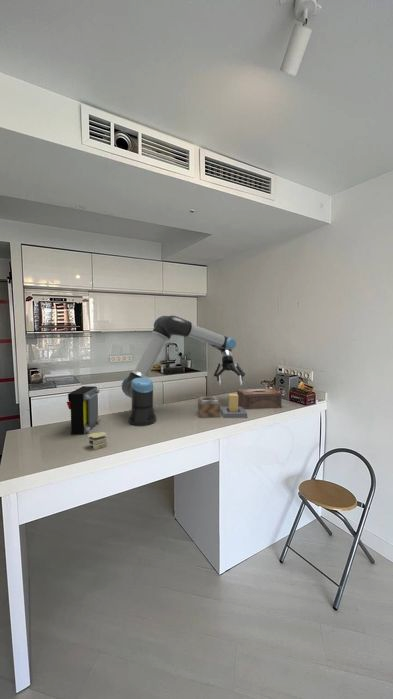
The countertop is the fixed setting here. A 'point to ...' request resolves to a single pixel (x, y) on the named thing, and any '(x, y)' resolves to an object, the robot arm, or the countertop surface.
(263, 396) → the tissue box cover
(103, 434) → the beige layered block
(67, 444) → the countertop surface
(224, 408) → the lower jack plate
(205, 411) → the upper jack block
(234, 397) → the pale yellow tall block
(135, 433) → the countertop surface
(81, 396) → the electrical component
